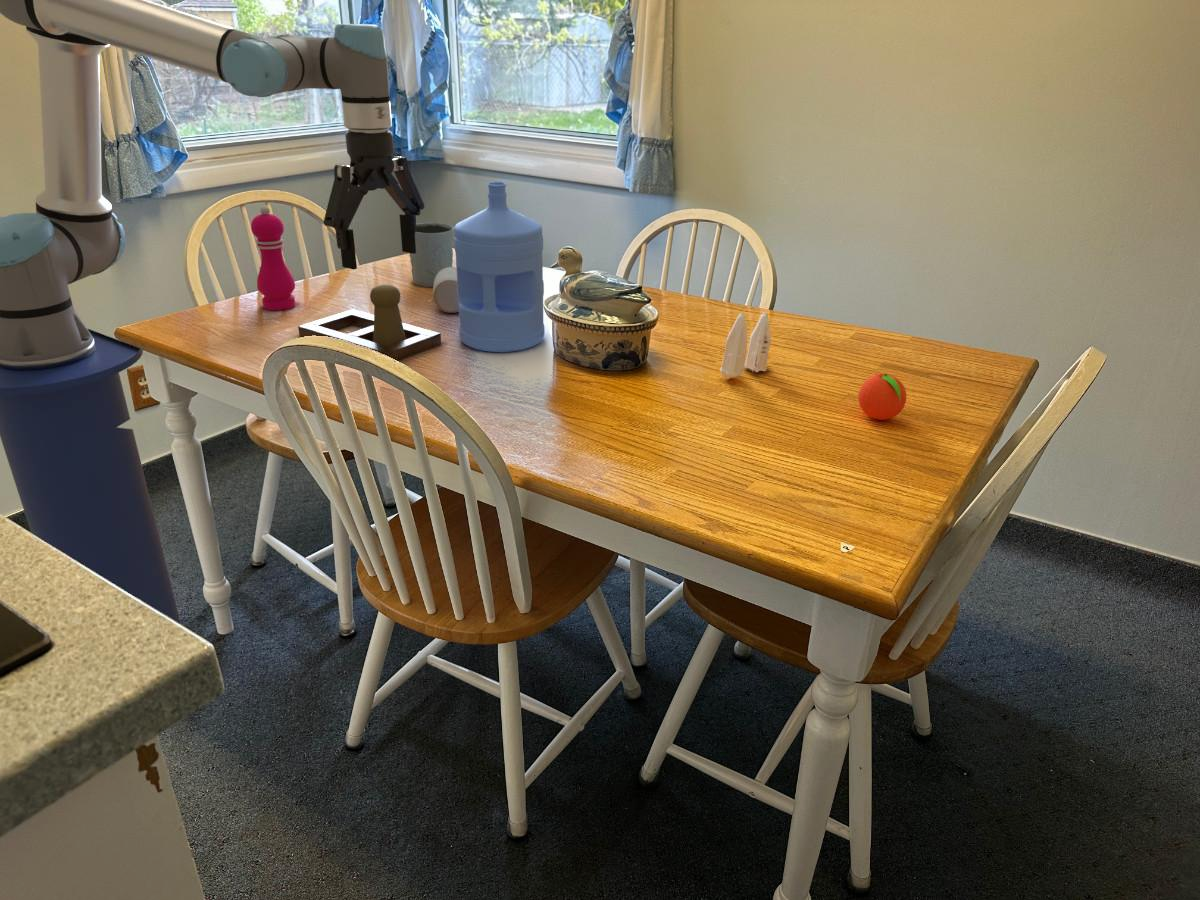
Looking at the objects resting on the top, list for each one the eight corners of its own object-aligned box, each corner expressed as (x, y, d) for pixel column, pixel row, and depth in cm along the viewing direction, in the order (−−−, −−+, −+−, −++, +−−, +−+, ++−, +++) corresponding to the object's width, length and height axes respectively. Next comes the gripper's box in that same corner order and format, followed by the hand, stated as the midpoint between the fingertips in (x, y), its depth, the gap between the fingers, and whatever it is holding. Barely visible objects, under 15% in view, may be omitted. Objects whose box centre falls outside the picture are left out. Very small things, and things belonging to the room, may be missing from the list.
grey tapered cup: (412, 275, 200) (408, 222, 195) (457, 275, 201) (454, 222, 196) (408, 288, 191) (404, 233, 186) (455, 287, 192) (452, 232, 187)
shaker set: (731, 387, 144) (737, 322, 139) (711, 380, 146) (716, 316, 141) (774, 369, 151) (781, 307, 146) (754, 362, 154) (760, 301, 149)
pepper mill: (302, 307, 178) (288, 207, 169) (266, 313, 174) (250, 211, 165) (291, 298, 183) (277, 200, 174) (256, 304, 179) (240, 204, 170)
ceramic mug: (433, 315, 174) (431, 277, 171) (435, 303, 182) (433, 266, 178) (486, 315, 176) (485, 277, 172) (486, 302, 183) (485, 266, 180)
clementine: (915, 427, 131) (924, 383, 127) (874, 432, 129) (882, 388, 126) (885, 406, 138) (893, 364, 134) (846, 411, 136) (853, 368, 133)
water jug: (475, 322, 171) (468, 173, 158) (553, 329, 168) (552, 178, 156) (447, 349, 157) (436, 189, 145) (531, 357, 155) (528, 194, 142)
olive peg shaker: (377, 339, 161) (371, 281, 156) (410, 340, 161) (405, 282, 156) (369, 351, 156) (362, 290, 151) (402, 352, 156) (397, 291, 151)
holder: (388, 364, 151) (387, 353, 150) (299, 336, 162) (297, 326, 161) (441, 343, 160) (440, 333, 159) (353, 318, 172) (352, 309, 171)
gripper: (322, 139, 131) (338, 278, 140) (439, 125, 149) (446, 249, 159) (289, 134, 135) (307, 270, 144) (408, 121, 153) (417, 243, 163)
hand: (380, 260), depth 152 cm, fingers open, 13 cm apart
